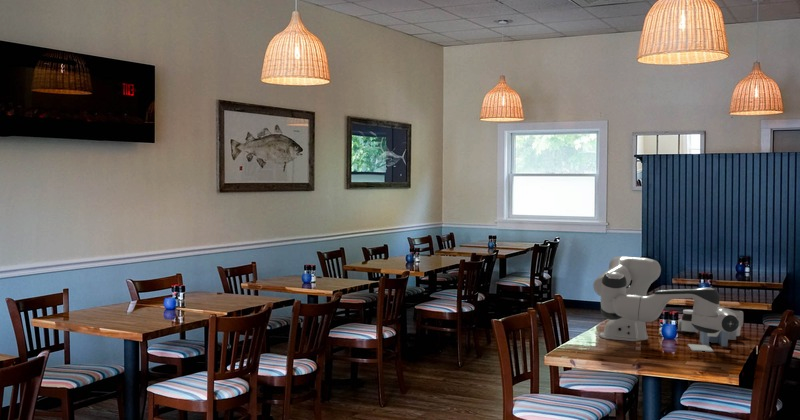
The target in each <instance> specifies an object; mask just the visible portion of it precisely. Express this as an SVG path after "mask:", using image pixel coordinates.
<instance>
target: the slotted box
mask: <svg viewBox="0 0 800 420" xmlns="http://www.w3.org/2000/svg"><path fill="white" fill-rule="evenodd" d="M699 342H700V344H701V345H709V346H710V343H709V342H711V344H719V345H720V346H721V347H726V348H727V347H728V344H729V340H728V332H724V331H720V333H719V334H718V336H717V337H713V336H707V333H705V332H701V331H699Z"/></svg>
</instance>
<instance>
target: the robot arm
mask: <svg viewBox="0 0 800 420" xmlns="http://www.w3.org/2000/svg"><path fill="white" fill-rule="evenodd" d="M661 272H662V267H661V265H660V263H659V262H658V261H657V260H655V259H652V258H648V257H639V256H638V257H637V256H626V255H622V256H621V255H620V256H614V257H612V258H611V260H610V261H609V263H608V270H606V271H604V272H603V273H601V274H600V275H599V276H598V277H596V279H595V280H594V282H593V284H592V285H593V286H592V287H593V291H594V292H595V294H596V295H598V296H600V308H599V309H600V313H601V316H603V317H604V318H605V319H607V320H609V321H606V324H604V325H605V326H604V328H603V331H602V332H600V333H599V335H598V336H599V337H600V338H602V339H606V340H615V341H616V340H617V341H628V342H638V341H647V340H648V339H649V336H648V333H647V327H646V326H647V325H646V323H651V322H652V323H653V322H654V321H656V320H657V319H658V318H659V317H660V316H661V314H662V312H664V310H665V308H666V306H667V304H668V303H669V302H670V301H672V300H675V299H677V300H678V299H681V300H682V299H692V300H693V307H692V310H693V313H692V322H691V324H692V325H693V327H694V328H696V329H697V330H698V332H700V331H701V332H705V333H717V332H719V331H724V332H728V333H730V332H734V331H736V330H737V328H738V327H739V326H741V327H743V325H744V311H742V310H737V309H730V308H726V307H722V306H720V307H718V305H719V304H720V300H721V295H720V293H719V292H718V290H717V289H715V288H713V287H706V286H705V287H697V288H672V289H671V288H669V289H659V290H655V291H654V293H652V294H650V295H647V294H648V290H649V288H650V286H651V284H653V283H654V282H655V281H656V280H658V278H659V277H660V275H661Z"/></svg>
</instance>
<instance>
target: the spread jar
mask: <svg viewBox="0 0 800 420" xmlns="http://www.w3.org/2000/svg"><path fill="white" fill-rule="evenodd" d="M682 313H683V314H682V316H681V318H679V319H678V320H677V321H678V331H677V332H681V334H683V335H687V334H690V335H689V336H696V334H697V335H698V333H699V330H697V329H696V328H694V327H693V325H692V324H691V322H692V313H693V309H683V310H682Z"/></svg>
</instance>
